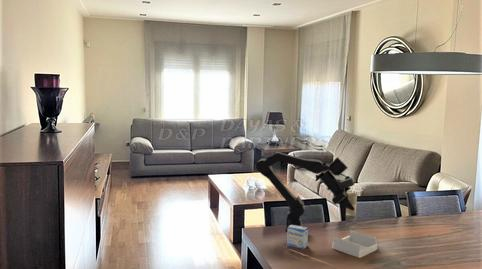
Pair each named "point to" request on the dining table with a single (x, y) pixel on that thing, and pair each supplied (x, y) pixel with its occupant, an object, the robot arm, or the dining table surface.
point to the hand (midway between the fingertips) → (354, 208)
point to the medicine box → (297, 236)
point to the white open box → (355, 244)
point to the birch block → (353, 200)
